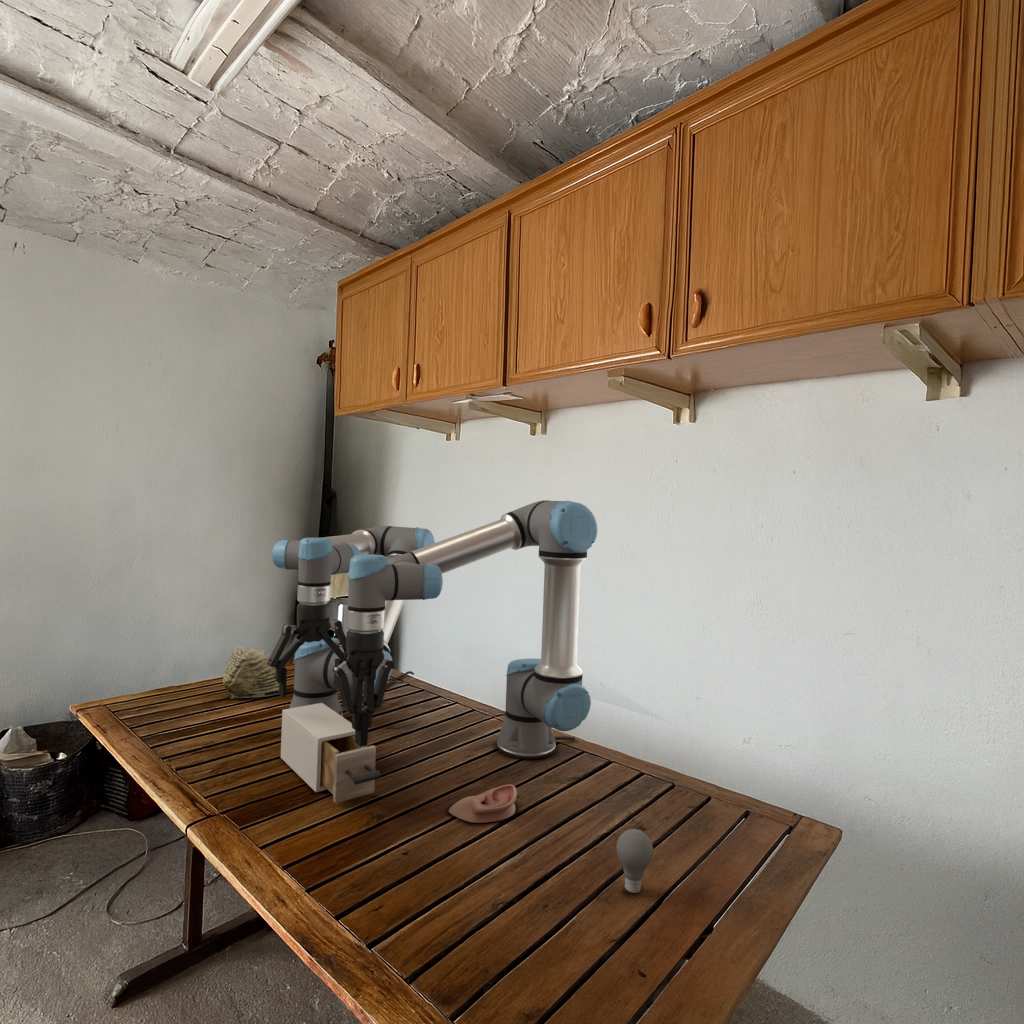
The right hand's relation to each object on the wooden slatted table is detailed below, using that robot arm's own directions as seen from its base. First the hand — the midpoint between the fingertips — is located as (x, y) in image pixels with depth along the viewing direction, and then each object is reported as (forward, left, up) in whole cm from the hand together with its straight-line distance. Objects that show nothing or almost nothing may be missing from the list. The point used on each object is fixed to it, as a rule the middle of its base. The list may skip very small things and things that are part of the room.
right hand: (361, 743), depth 131 cm
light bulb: (-40, +42, -13) cm, 59 cm away
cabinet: (+7, -20, -13) cm, 25 cm away
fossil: (+23, -80, -13) cm, 84 cm away
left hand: (+9, -26, +4) cm, 28 cm away
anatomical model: (-24, +9, -13) cm, 29 cm away
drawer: (+3, -9, -12) cm, 15 cm away
